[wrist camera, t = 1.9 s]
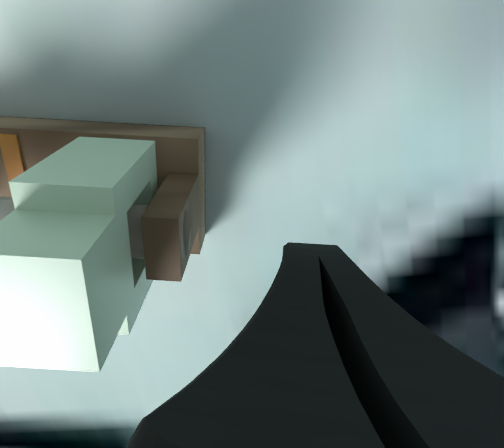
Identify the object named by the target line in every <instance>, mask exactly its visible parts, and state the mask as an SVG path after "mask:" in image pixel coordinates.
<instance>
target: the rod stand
mask: <svg viewBox="0 0 504 448" xmlns="http://www.w3.org/2000/svg"><path fill="white" fill-rule="evenodd" d="M78 137H97V138H114V139H132V140H149V141H155V151H156V167H157V184H158V191H157V192H156V194H155V195H154V197H153V199H152V200H151V202H150V203H149V205H139V204H132V206H131V207H130V209H129V210H128V211H127V220H128V230H129V240H130V250H131V258H139V259H145V271H146V279H148V280H165V281H181V280H182V277H183V274H184V271H185V268H186V265H187V262H188V259H189V256H190V254H200V251H201V248H202V244H203V241H204V237H205V128H199V127H182V126H164V125H146V124H128V123H111V122H93V121H75V120H58V119H40V118H22V117H4V116H0V221H1V220H2V219H3V218H4V217H6V216H7V215H8V214H10V213H11V212H12V211H14V210H15V208H14V203H13V199H12V195H11V191H10V186H9V181H11V180H12V179H14V178H15V177H17V176H19V175H20V174H22V173H23V172H25V171H26V170H28V169H29V168H31V167H33V166H34V165H36V164H37V163H39V162H40V161H42V160H44V159H45V158H47V157H48V156H50V155H51V154H53V153H55V152H56V151H58V150H59V149H61V148H62V147H64V146H65V145H67V144H69V143H70V142H72V141H73V140H75V139H76V138H78Z"/></svg>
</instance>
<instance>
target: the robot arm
mask: <svg viewBox="0 0 504 448" xmlns="http://www.w3.org/2000/svg"><path fill="white" fill-rule="evenodd" d="M126 448H504V377H502V376H500V375H499V374H497V373H495V372H494V371H492V370H490V369H489V368H487V367H485V366H484V365H482V364H480V363H479V362H477V361H475V360H474V359H472V358H471V357H469V356H467V355H466V354H464V353H462V352H461V351H459V350H458V349H456V348H455V347H453V346H452V345H450V344H449V343H447V342H446V341H445V340H443V339H442V338H440V337H439V336H438V335H436V334H435V333H433V332H432V331H431V330H429V329H428V328H426V327H425V326H424V325H422V324H421V323H420V322H418V321H417V320H416V319H415V318H413V317H412V316H411V315H410V314H408V313H407V312H406V311H405V310H404V309H403V308H401V307H400V306H399V305H398V304H397V303H395V302H394V301H393V300H392V299H391V298H390V297H389V296H388V295H386V294H385V293H384V292H383V291H382V290H381V289H380V288H379V287H378V286H377V285H376V284H375V283H374V282H373V281H372V280H371V279H370V278H369V277H368V276H367V275H366V274H365V273H364V272H363V271H362V270H361V269H360V268H359V267H358V266H357V265H356V264H355V263H354V262H353V261H352V260H351V259H350V258H349V257H348V256H347V255H346V254H345V253H344V252H343V251H342V250H341V249H340V248H339V247H338V246H337V245H323V244H306V243H289V242H288V243H287V244H286V245H284V247H283V257H282V262H281V265H280V268H279V270H278V272H277V275H276V277H275V279H274V281H273V284H272V286H271V287H270V289H269V291H268V293H267V294H266V296H265V298H264V300H263V301H262V303H261V305H260V306H259V308H258V309H257V311H256V312H255V314H254V315H253V317H252V318H251V319H250V321H249V322H248V323H247V325H246V326H245V327H244V329H243V330H242V331H241V332H240V333H239V335H238V336H237V337H236V338H235V339H234V340H233V341H232V343H231V344H230V345H229V346H228V347H227V348H226V349H225V350H224V351H223V353H222V354H221V355H220V356H219V357H218V358H217V359H216V360H214V361H213V362H212V363H211V364H210V365H209V366H208V367H207V368H206V369H205V370H204V371H202V372H201V373H200V374H199V375H198V376H197V377H196V378H195V379H194V380H193V381H192V382H190V383H189V384H188V385H187V386H186V387H184V388H183V389H182V390H181V391H179V392H178V393H177V394H175V395H174V396H173V397H171V398H170V399H169V400H167V401H166V402H165V403H163V404H162V405H161V406H159V407H158V408H157V409H155V410H154V411H153V412H151V413H150V414H149V415H147V416H146V417H144V418H143V419H142V420H141V422H140V423H139V425H138V427H137V428H136V430H135V432H134V434H133V435H132V437H131V439H130V440H129V442H128V444H127V446H126Z"/></svg>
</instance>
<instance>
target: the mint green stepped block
mask: <svg viewBox="0 0 504 448" xmlns="http://www.w3.org/2000/svg"><path fill="white" fill-rule="evenodd" d="M9 186H10V191H11V195H12V199H13V203H14V208H15V210H14V211H12V212H11V213H10V214H8V215H7V216H6V217H4V218H3V219H2V220H1V221H0V366H6V367H22V368H38V369H54V370H70V371H86V372H100V370H101V368H102V366H103V364H104V362H105V360H106V358H107V356H108V354H109V351H110V349H111V347H112V345H113V343H114V341H115V339H116V337H117V335H118V334H120V335H129V334H130V331H131V329H132V327H133V325H134V322H135V320H136V318H137V315H138V313H139V311H140V309H141V306H142V304H143V302H144V299H145V297H146V295H147V292H148V290H149V288H150V286H151V283H152V281H153V280H148V279H146V271H145V259H139V258H131V250H130V240H129V230H128V220H127V211H128V210H129V209H130V207H131V206H132V204H139V205H149V203H150V202H151V200H152V199H153V197H154V195H155V194H156V192H157V191H158V184H157V167H156V151H155V141H149V140H132V139H114V138H97V137H78V138H76V139H75V140H73V141H72V142H70V143H69V144H67V145H65V146H64V147H62V148H61V149H59V150H58V151H56V152H55V153H53V154H51V155H50V156H48V157H47V158H45V159H44V160H42V161H40V162H39V163H37V164H36V165H34V166H33V167H31V168H29V169H28V170H26V171H25V172H23V173H22V174H20V175H19V176H17V177H15V178H14V179H12V180H11V181H9Z"/></svg>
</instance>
